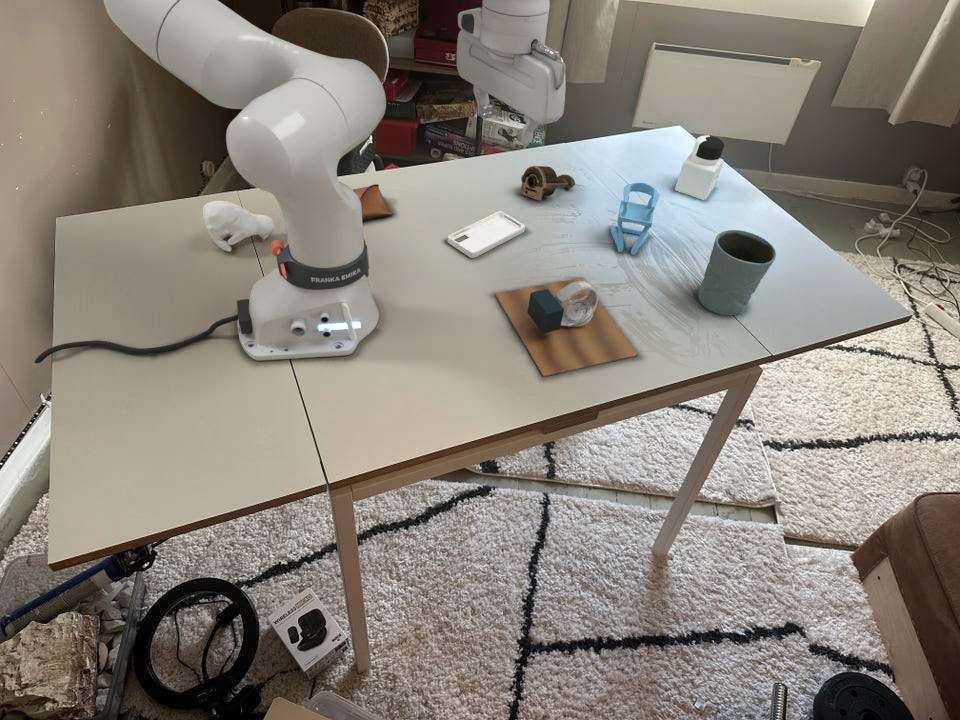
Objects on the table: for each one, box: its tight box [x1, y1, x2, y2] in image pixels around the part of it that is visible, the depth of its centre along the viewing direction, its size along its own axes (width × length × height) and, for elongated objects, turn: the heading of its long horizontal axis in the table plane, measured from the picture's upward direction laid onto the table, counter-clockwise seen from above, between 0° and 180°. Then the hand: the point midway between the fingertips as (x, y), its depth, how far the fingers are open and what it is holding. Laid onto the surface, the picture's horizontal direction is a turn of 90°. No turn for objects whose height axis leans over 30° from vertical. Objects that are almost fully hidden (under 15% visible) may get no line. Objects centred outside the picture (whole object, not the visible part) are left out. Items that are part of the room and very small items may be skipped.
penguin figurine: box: [202, 200, 275, 253], centre depth 117 cm, size 6×8×12 cm
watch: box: [527, 280, 599, 334], centre depth 106 cm, size 6×8×11 cm
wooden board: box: [494, 277, 638, 378], centre depth 109 cm, size 17×21×1 cm
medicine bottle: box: [674, 134, 725, 201], centre depth 141 cm, size 7×7×12 cm
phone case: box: [447, 210, 526, 259], centre depth 126 cm, size 7×1×15 cm
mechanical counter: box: [520, 165, 576, 201], centre depth 137 cm, size 7×13×10 cm
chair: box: [610, 182, 661, 256], centre depth 124 cm, size 8×8×12 cm
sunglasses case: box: [352, 183, 394, 223], centre depth 127 cm, size 18×7×7 cm, turn 121°
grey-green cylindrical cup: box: [697, 229, 777, 316], centre depth 113 cm, size 10×10×12 cm
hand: (503, 128), depth 95 cm, fingers open, 8 cm apart
